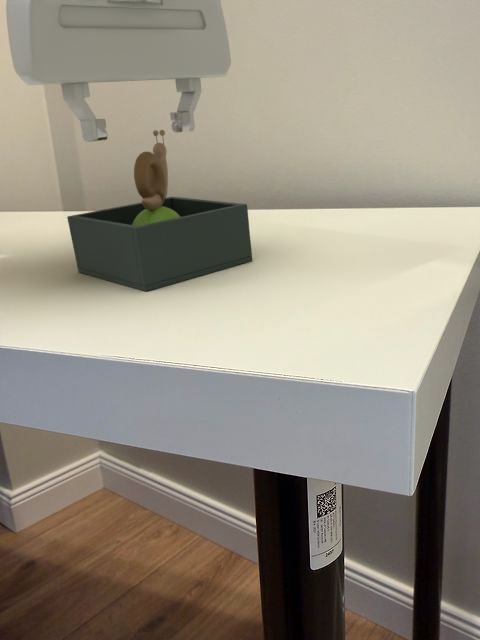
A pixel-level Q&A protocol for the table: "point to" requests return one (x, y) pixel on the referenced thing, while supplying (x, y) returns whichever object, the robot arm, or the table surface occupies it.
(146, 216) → the snail figurine
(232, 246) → the bin
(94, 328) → the table surface
